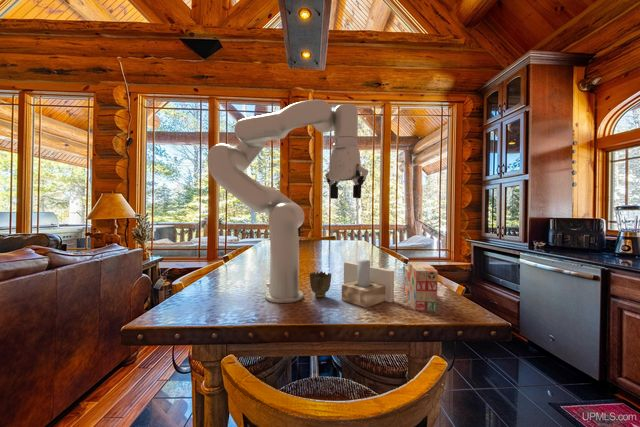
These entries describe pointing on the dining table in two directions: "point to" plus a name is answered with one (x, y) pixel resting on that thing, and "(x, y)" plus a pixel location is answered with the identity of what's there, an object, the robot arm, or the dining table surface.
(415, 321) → the dining table surface
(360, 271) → the dowel
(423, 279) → the stack of blocks
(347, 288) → the socket block
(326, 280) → the cup
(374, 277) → the backstop wall
